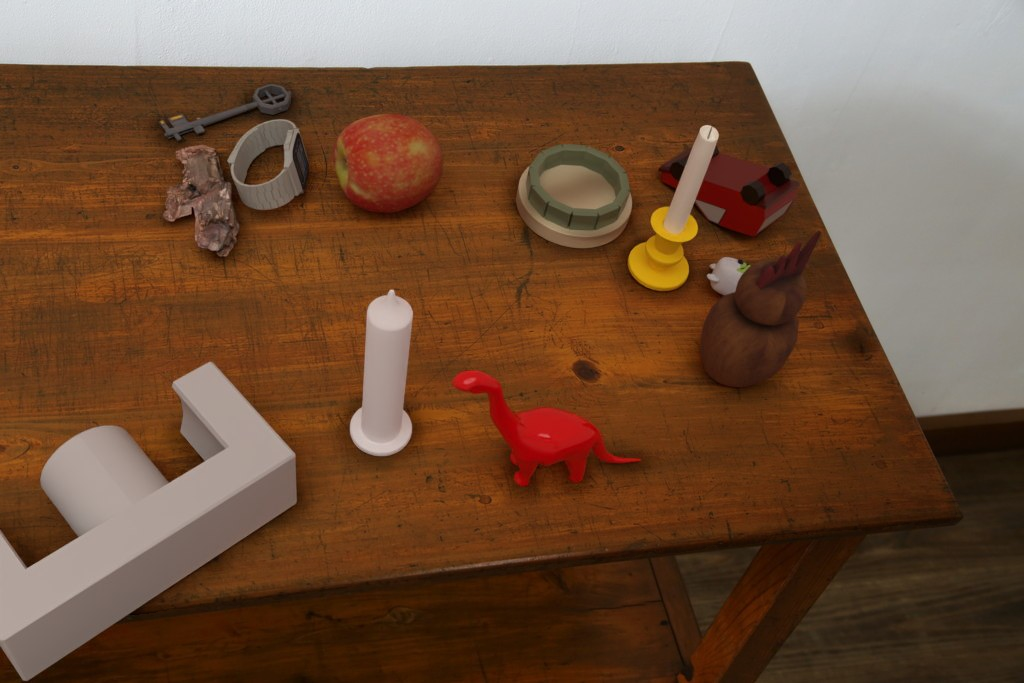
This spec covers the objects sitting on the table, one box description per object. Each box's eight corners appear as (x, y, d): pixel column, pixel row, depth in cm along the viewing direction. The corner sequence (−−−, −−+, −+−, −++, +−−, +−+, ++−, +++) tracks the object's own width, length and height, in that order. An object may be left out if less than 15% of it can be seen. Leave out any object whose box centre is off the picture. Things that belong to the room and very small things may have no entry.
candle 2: (697, 286, 86) (758, 147, 74) (640, 296, 85) (694, 154, 73) (673, 241, 89) (728, 99, 77) (618, 249, 88) (665, 106, 76)
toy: (883, 345, 79) (706, 260, 83) (864, 378, 81) (691, 293, 84) (891, 316, 85) (725, 237, 88) (873, 347, 86) (710, 269, 90)
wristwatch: (299, 224, 84) (298, 179, 80) (220, 215, 84) (215, 169, 80) (314, 148, 90) (314, 103, 86) (241, 139, 89) (237, 93, 85)
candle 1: (351, 402, 75) (356, 260, 63) (412, 406, 75) (429, 265, 63) (347, 455, 72) (352, 317, 60) (410, 458, 73) (428, 322, 61)
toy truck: (654, 157, 92) (656, 207, 95) (762, 191, 85) (761, 245, 88) (696, 132, 95) (697, 182, 98) (804, 164, 88) (801, 216, 91)
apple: (326, 172, 89) (326, 99, 82) (419, 158, 91) (426, 86, 85) (351, 239, 84) (353, 167, 78) (448, 222, 87) (458, 151, 81)
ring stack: (651, 225, 90) (660, 198, 88) (559, 264, 86) (566, 237, 83) (584, 153, 95) (591, 125, 92) (493, 187, 90) (498, 159, 88)
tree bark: (221, 154, 88) (219, 131, 86) (247, 259, 82) (245, 237, 80) (151, 162, 86) (147, 139, 84) (172, 270, 80) (168, 248, 78)
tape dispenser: (25, 683, 59) (0, 641, 55) (-52, 568, 63) (-81, 518, 58) (298, 503, 69) (296, 454, 65) (218, 412, 73) (211, 359, 68)
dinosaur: (646, 485, 74) (695, 387, 65) (439, 503, 71) (457, 403, 61) (633, 438, 76) (678, 337, 67) (432, 454, 73) (449, 349, 64)
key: (281, 77, 94) (299, 99, 92) (281, 86, 94) (299, 108, 93) (154, 118, 88) (172, 142, 87) (156, 127, 89) (173, 151, 88)
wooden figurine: (760, 338, 84) (831, 208, 72) (780, 396, 81) (858, 270, 69) (681, 339, 83) (740, 208, 71) (699, 399, 80) (763, 271, 68)
